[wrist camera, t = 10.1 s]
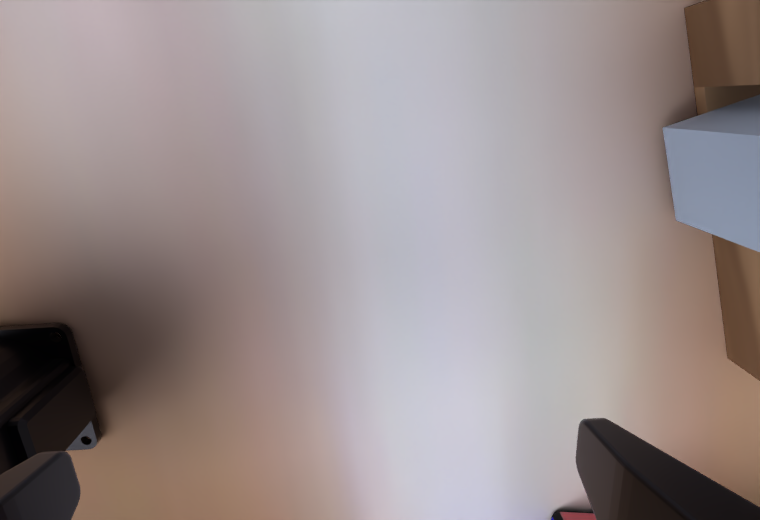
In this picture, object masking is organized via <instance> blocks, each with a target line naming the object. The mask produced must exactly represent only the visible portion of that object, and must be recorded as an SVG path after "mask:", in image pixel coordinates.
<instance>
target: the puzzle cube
mask: <svg viewBox="0 0 760 520" xmlns="http://www.w3.org/2000/svg"><path fill="white" fill-rule="evenodd" d="M551 520H596V517H595V515H594V513H576V512H555V513H554V514H553V516H552V519H551Z"/></svg>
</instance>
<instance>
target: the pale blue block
mask: <svg viewBox="0 0 760 520" xmlns="http://www.w3.org/2000/svg"><path fill="white" fill-rule="evenodd" d="M663 134H664V141H665V148H666V155H667V162H668V168H669V175H670V182H671V189H672V196H673V203H674V210H675V217H676V221H679V222H682V223H684V224H687V225H689V226H692V227H695V228H697V229H700V230H703V231H705V232H708V233H710V234H713V235H716V236H718V237H721V238H724V239H726V240H729V241H731V242H734V243H737V244H739V245H742V246H744V247H747V248H750V249H752V250H755V251H758V252H760V95H757V96H754V97H751V98H748V99H745V100H742V101H739V102H736V103H734V104H731V105H728V106H725V107H722V108H719V109H716V110H713V111H710V112H707V113H704V114H701V115H698V116H695V117H692V118H689V119H686V120H683V121H680V122H677V123H674V124H672V125H669V126H666V127H663Z"/></svg>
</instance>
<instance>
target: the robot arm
mask: <svg viewBox="0 0 760 520" xmlns="http://www.w3.org/2000/svg"><path fill="white" fill-rule="evenodd" d="M55 332H56V333H58V334H60V335H61V338H59V337H57V336H56V334H55ZM86 436H88V437H89V438H91V439H88V438H87V437H86ZM100 439H101V432H100V429H99V425H98V422H97V418H96V410H95V407H94V403H93V400H92V396H91V393H90V389H89V386H88V382H87V379H86V375H85V372H84V370H83V368H82V365H81V362H80V358H79V355H78V351H77V348H76V344H75V341H74V337H73V334H72V331H71V329H70V328H69V327H68V326H67V325H64V324H61V323H52V324H35V325H18V326H2V327H0V520H71V518H72V516H73V514H74V512H75V509H76V507H77V505H78V502H79V499H80V485H79V482H78V478H77V475H76V472H75V469H74V466H73V462H72V459H71V457H70V455H69V454H68V453H67V452H65V451H67V450H83V449H92V448H94V447H95V446H96V445H97V444H98V442H99V441H100ZM576 465H577V469H578V473H579V475H580V478H581V481H582V483H583V486H584V488H585V491H586V494H587V496H588V499H589V502H590V504H591V507H592V509H593V512H594V515H595V517H596V520H760V507H758V506H756V505H755V504H753V503H751V502H749V501H748V500H746V499H744V498H742V497H741V496H739V495H737V494H736V493H734V492H732V491H730V490H729V489H727V488H725V487H723V486H722V485H720V484H718V483H716V482H715V481H713V480H711V479H710V478H708V477H706V476H704V475H703V474H701V473H699V472H697V471H696V470H694V469H692V468H691V467H689V466H687V465H685V464H684V463H682V462H680V461H678V460H677V459H675V458H673V457H672V456H670V455H668V454H666V453H665V452H663V451H661V450H659V449H658V448H656V447H654V446H653V445H651V444H649V443H647V442H646V441H644V440H642V439H640V438H639V437H637V436H635V435H634V434H632V433H630V432H628V431H627V430H625V429H623V428H621V427H620V426H618V425H616V424H614V423H613V422H611V421H609V420H607V419H605V418H593V419H583V420H582V421H581V422H580V424H579V429H578V439H577V450H576Z"/></svg>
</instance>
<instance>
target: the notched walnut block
mask: <svg viewBox="0 0 760 520" xmlns="http://www.w3.org/2000/svg"><path fill="white" fill-rule="evenodd" d="M684 10H685V18H686V26H687V34H688V42H689V50H690V58H691V66H692V74H693V83H694V91H695V99H696V107H697V115H701V114H704V113H707V112H710V111H713V110H716V109H719V108H722V107H725V106H728V105H731V104H734V103H736V102H739V101H742V100H745V99H748V98H751V97H754V96H757V95H760V0H706V1H703V2H700V3H697V4H695V5H692V6H689V7H686V8H684ZM712 236H713V244H714V252H715V260H716V268H717V276H718V284H719V292H720V300H721V308H722V316H723V324H724V332H725V340H726V348H727V356H728V359H730V360H731V361H732V362H734V363H735V364H737V365H738V366H740V367H741V368H742V369H744V370H745V371H747V372H748V373H749V374H751V375H752V376H754V377H755V378H756V379H758V380H759V381H760V252H758V251H755V250H752V249H750V248H747V247H744V246H742V245H739V244H737V243H734V242H731V241H729V240H726V239H724V238H721V237H718V236H716V235H713V234H712Z"/></svg>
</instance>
